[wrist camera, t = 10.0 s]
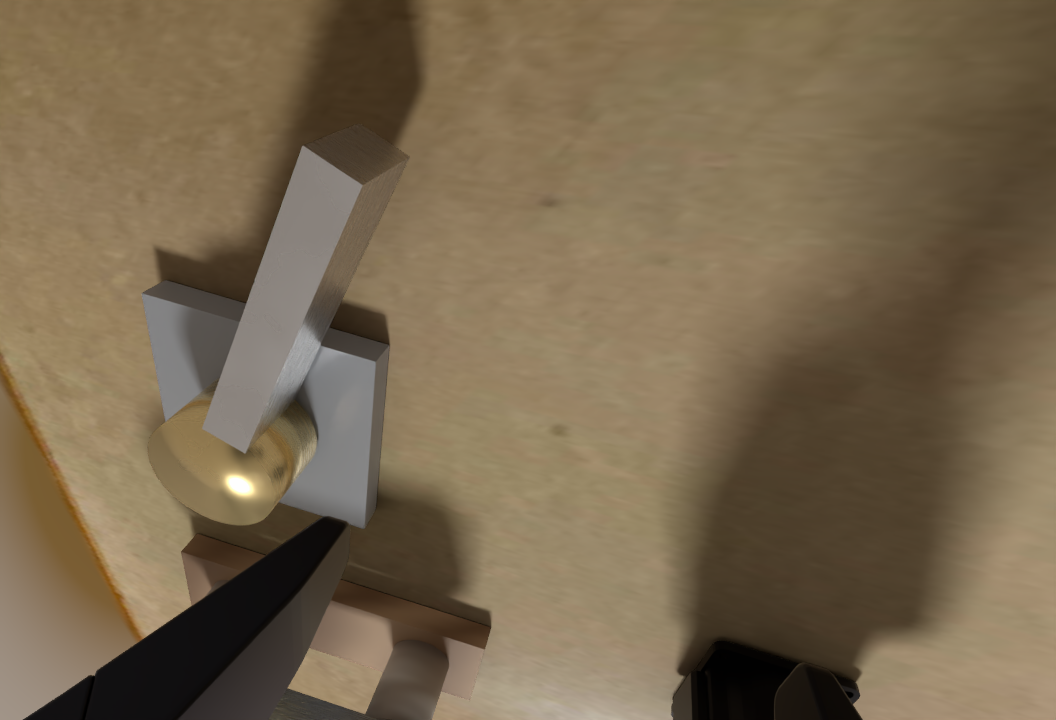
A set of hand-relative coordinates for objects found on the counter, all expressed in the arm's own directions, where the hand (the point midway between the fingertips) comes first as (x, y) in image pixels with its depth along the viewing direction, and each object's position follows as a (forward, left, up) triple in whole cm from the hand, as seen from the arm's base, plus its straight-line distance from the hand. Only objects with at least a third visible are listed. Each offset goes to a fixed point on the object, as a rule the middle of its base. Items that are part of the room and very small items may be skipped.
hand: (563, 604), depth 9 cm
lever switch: (+10, +4, -10) cm, 15 cm away
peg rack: (+9, +22, -12) cm, 26 cm away
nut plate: (+12, +9, -12) cm, 19 cm away
